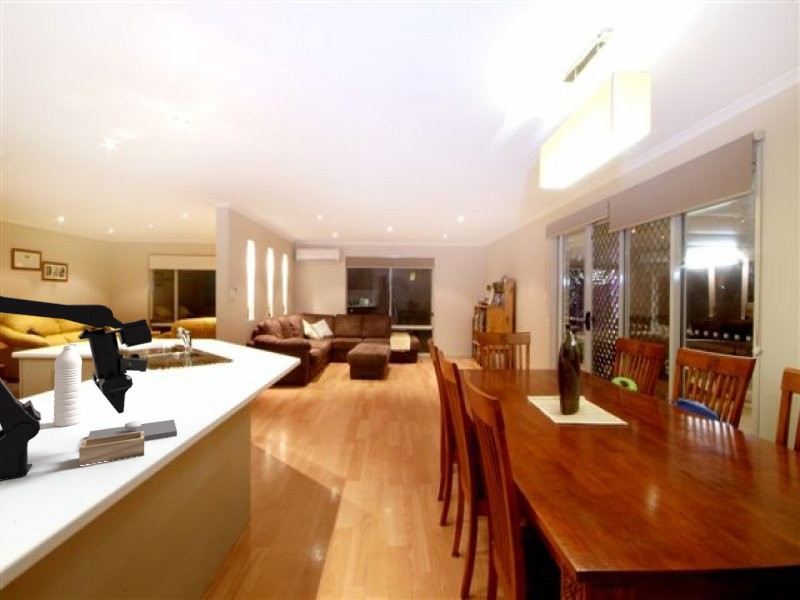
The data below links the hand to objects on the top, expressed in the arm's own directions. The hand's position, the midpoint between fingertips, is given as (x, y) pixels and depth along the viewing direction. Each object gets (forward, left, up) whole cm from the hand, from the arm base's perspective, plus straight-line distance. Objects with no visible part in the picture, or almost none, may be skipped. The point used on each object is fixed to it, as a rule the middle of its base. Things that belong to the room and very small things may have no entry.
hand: (117, 408), depth 102 cm
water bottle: (+34, +14, -11) cm, 39 cm away
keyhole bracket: (-4, +1, -11) cm, 12 cm away
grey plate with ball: (+10, -3, -11) cm, 16 cm away
